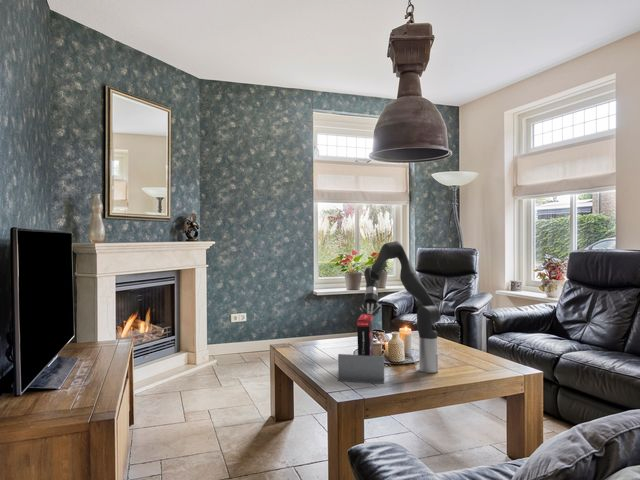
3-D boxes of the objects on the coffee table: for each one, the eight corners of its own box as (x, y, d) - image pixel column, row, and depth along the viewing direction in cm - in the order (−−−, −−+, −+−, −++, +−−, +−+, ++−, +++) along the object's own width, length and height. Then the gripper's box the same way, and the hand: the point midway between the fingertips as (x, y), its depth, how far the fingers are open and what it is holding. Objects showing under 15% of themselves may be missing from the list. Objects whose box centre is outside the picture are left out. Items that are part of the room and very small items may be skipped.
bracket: (385, 375, 233) (385, 351, 232) (383, 383, 219) (383, 358, 219) (342, 372, 237) (341, 349, 237) (337, 381, 224) (337, 356, 224)
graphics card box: (370, 374, 235) (370, 320, 234) (357, 373, 236) (356, 319, 236) (373, 364, 251) (373, 314, 251) (361, 364, 253) (360, 314, 252)
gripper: (359, 291, 275) (357, 316, 264) (382, 292, 273) (380, 318, 262) (360, 299, 281) (358, 323, 269) (382, 300, 278) (381, 325, 267)
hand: (369, 320), depth 265 cm, fingers closed
